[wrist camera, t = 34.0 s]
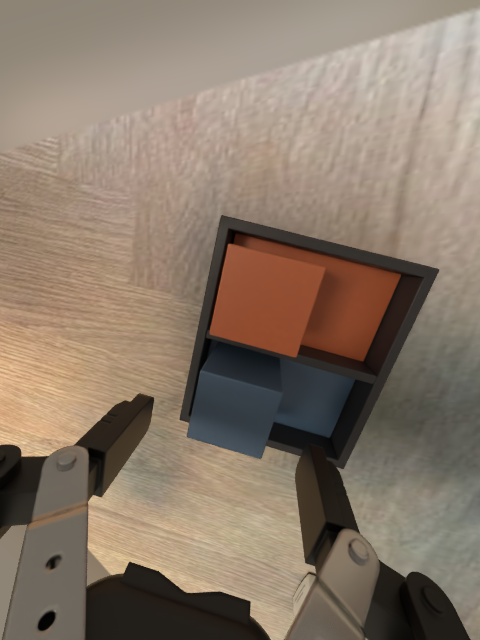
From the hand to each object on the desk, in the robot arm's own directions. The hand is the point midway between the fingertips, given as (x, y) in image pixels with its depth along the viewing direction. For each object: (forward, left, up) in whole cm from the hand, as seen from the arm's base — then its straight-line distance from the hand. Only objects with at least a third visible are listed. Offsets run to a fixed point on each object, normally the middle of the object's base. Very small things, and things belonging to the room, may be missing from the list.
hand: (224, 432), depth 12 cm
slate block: (0, 0, -6) cm, 6 cm away
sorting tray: (+3, +3, -7) cm, 8 cm away
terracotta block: (0, +7, -6) cm, 9 cm away
